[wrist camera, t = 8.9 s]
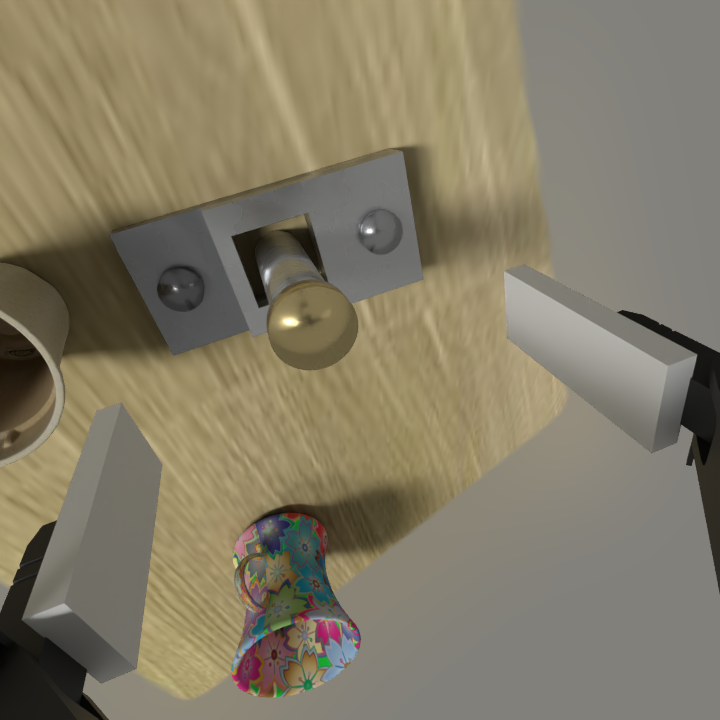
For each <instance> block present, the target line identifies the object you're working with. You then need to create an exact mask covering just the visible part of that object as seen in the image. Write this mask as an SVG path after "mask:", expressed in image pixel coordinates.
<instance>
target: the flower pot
mask: <svg viewBox="0 0 720 720" xmlns="http://www.w3.org/2000/svg"><path fill="white" fill-rule="evenodd" d="M69 325H70V319H69V313H68V310H67V307H66V305H65V302H64V300H63V299H62V297H61V296H60V294H59V293H58V292H57V290H56V289H55V288H54V287H53V286H52V285H50V284H49V283H47V282H46V281H44V280H43V279H41V278H39V277H38V276H36V275H35V274H33V273H32V272H30V271H28V270H27V269H25V268H22V267H19V266H16V265H12V264H6V263H0V467H2V466H5V465H8V464H11V463H13V462H15V461H17V460H19V459H21V458H23V457H25V456H27V455H29V454H30V453H31V452H33V451H34V450H36V449H37V448H39V447H40V446H41V445H42V444H43V443H44V442H45V441H46V440H47V439H48V438H49V437H50V435H51V434H52V433H53V431H54V430H55V428H56V427H57V425H58V423H59V421H60V418H61V415H62V412H63V408H64V403H65V385H64V380H63V376H62V372H61V370H60V363H61V359H62V354H63V350H64V346H65V342H66V338H67V335H68V332H69ZM28 349H33V350H34V353H32V354H30V355H23V356H17V355H13V354H11V353H10V351H18V350H28Z"/></svg>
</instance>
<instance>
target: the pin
mask: <svg viewBox="0 0 720 720" xmlns="http://www.w3.org/2000/svg"><path fill="white" fill-rule="evenodd" d="M255 257H256V261H257V265H258V268H259V271H260V275H261V278H262V282H263V285H264V288H265V292H266V295H267V299H268V302H269V305H270V307H269V309H268V313H267V318H266V327H267V332H268V336H269V340H270V343H271V346H272V348H273V350H274V352H275V353H276V355H277V356H278V357H279V358H280V359H281V360H282V361H283V362H285V363H286V364H288V365H290V366H292V367H294V368H297V369H302V370H318V369H323V368H326V367H329V366H331V365H333V364H335V363H337V362H338V361H339V360H341V359H342V358H343V357H344V356H345V355H346V354H347V353H348V352H349V351H350V349H351V348H352V346H353V344H354V342H355V340H356V337H357V333H358V319H357V315H356V312H355V309H354V307H353V306H352V304H351V303H350V301H349V300H348V299H347V297H346V296H345V295H344V293H343V292H342V291H341V290H340V289H338V288H337V287H336V286H334V285H333V284H331V283H328V282H326V281H324V279H323V278H322V276H321V275H320V273H319V272H318V270H317V269H316V267H315V266H314V264H313V263H312V261H311V260H310V258H309V257H308V255H307V253H306V252H305V250H304V249H303V247H302V246H301V244H300V243H299V241H298V240H297V239H296V238H295V237H294V236H293V235H292V234H290V233H288V232H285V231H278V230H277V231H272V232H269V233H267V234H265V235H264V236H263V237H262V238H261V239H260V240H259V242H258V243H257V246H256V249H255Z"/></svg>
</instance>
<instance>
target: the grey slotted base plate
mask: <svg viewBox="0 0 720 720" xmlns="http://www.w3.org/2000/svg"><path fill="white" fill-rule="evenodd" d="M302 214H304V215H305V219H306V222H307V226H308V229H309V233H310V236H311V239H312V243H313V246H314V250H315V253H316V257H317V260H318V264H319V267H320V270H321V274H320V275H321V276H322V278H323V279H324V281H326V282H328V283H331V284H333V285H334V286H336V287H337V288H338V289H340V290H341V291H342V292H343V293H344V295H345V296H346V297H347V299H348V300H349V301H350V303H351V304H352V303H355V302H358V301H361V300H364V299H367V298H370V297H373V296H375V295H378V294H381V293H384V292H387V291H390V290H393V289H396V288H399V287H402V286H405V285H408V284H411V283H414V282H417V281H420V280H423V272H422V266H421V260H420V254H419V248H418V242H417V235H416V229H415V223H414V217H413V211H412V205H411V198H410V192H409V186H408V180H407V174H406V167H405V161H404V155H403V151H399V150H394V149H386V150H382V151H379V152H375V153H372V154H369V155H365V156H362V157H359V158H355V159H352V160H348V161H345V162H342V163H338V164H335V165H332V166H328V167H325V168H321V169H318V170H315V171H311V172H308V173H305V174H301V175H298V176H294V177H291V178H288V179H284V180H281V181H278V182H274V183H271V184H267V185H264V186H261V187H257V188H254V189H251V190H247V191H244V192H240V193H237V194H234V195H230V196H227V197H224V198H220V199H217V200H213V201H210V202H207V203H203V204H200V205H197V206H193V207H190V208H186V209H183V210H180V211H176V212H173V213H170V214H166V215H163V216H159V217H156V218H153V219H149V220H146V221H143V222H139V223H136V224H132V225H129V226H126V227H122V228H119V229H116V230H113V231H112V232H111V233H110V234H109V236H110V238H111V240H112V242H113V244H114V245H115V247H116V249H117V251H118V253H119V255H120V257H121V259H122V260H123V262H124V264H125V266H126V268H127V270H128V272H129V274H130V275H131V277H132V279H133V281H134V283H135V285H136V287H137V289H138V290H139V292H140V294H141V296H142V298H143V300H144V302H145V304H146V305H147V307H148V309H149V311H150V313H151V315H152V317H153V319H154V320H155V322H156V324H157V326H158V328H159V330H160V332H161V334H162V335H163V337H164V339H165V341H166V343H167V345H168V347H169V349H170V350H171V352H172V354H173V355H176V354H179V353H182V352H185V351H188V350H191V349H194V348H197V347H200V346H203V345H206V344H209V343H212V342H215V341H218V340H221V339H224V338H227V337H230V336H233V335H236V334H239V333H242V332H245V331H248V330H250V332H251V334H252V336H253V337H254V336H257V335H260V334H263V333H266V332H267V327H266V318H267V313H268V309H269V307H270V305H269V302H268V299H267V295H266V292H263V293H260V294H257V295H255V292H254V289H253V287H252V284H251V282H250V279H249V276H248V274H247V271H246V269H245V266H244V263H243V261H242V258H241V256H240V253H239V250H238V248H237V245H236V243H235V240H234V237H233V236H234V235H237V234H240V233H244V232H247V231H250V230H253V229H257V228H260V227H263V226H266V225H270V224H273V223H276V222H279V221H283V220H286V219H289V218H292V217H296V216H299V215H302Z"/></svg>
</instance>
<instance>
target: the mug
mask: <svg viewBox="0 0 720 720" xmlns="http://www.w3.org/2000/svg"><path fill="white" fill-rule="evenodd" d="M327 545H328V536H327V532H326V530H325V528H324V527H323V525H322V524H321V523H320V522H319V521H317V520H316V519H314V518H312V517H310V516H307V515H304V514H299V513H283V514H277V515H273V516H270V517H267V518H264V519H262V520H260V521H258V522H256V523H255V524H253V525H252V526H250V527H249V528H248V529H247V530H246V531H245V532H244V533H243V534H242V535H241V536H240V537H239V539H238V540H237V542H236V544H235V546H234V550H233V556H232V558H233V563H234V566H235V568H236V571H235V579H234V581H235V588H236V592H237V594H238V597H239V599H240V600H241V602H242V604H243V605H244V606H245V607H246V616H245V623H244V628H243V633H242V637H241V640H240V643H239V647H238V649H237V652H236V655H235V657H234V660H233V664H232V678H233V680H234V682H235V684H236V685H237V686H238V687H239V688H240V689H242V690H243V691H244V692H246V693H248V694H251V695H254V696H259V697H284V696H290V695H295V694H298V693H302V692H305V691H308V690H311V689H313V688H315V687H318V686H320V685H322V684H323V683H326V682H327V681H329V680H330V679H332V678H334V677H335V676H337V675H338V674H339V673H340V672H342V671H343V670H344V669H345V668H346V667H347V666H348V665H349V664H350V663H351V662H352V660H353V659H354V657H355V656H356V654H357V652H358V650H359V647H360V640H361V638H360V632H359V630H358V628H357V626H356V625H355V623H354V622H353V621H352V620H351V619H350V618H349V616H348V615H347V614H346V613H345V611H344V610H343V609H342V607H341V606H340V604H339V602H338V601H337V599H336V597H335V595H334V593H333V591H332V589H331V586H330V584H329V581H328V577H327V573H326V567H325V553H326V549H327Z"/></svg>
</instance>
